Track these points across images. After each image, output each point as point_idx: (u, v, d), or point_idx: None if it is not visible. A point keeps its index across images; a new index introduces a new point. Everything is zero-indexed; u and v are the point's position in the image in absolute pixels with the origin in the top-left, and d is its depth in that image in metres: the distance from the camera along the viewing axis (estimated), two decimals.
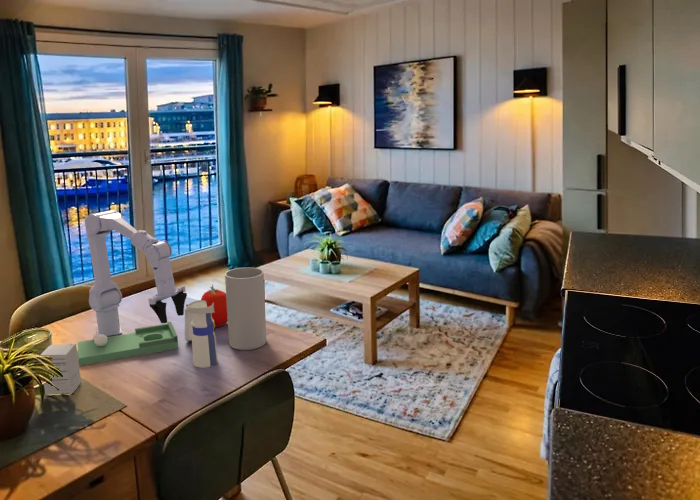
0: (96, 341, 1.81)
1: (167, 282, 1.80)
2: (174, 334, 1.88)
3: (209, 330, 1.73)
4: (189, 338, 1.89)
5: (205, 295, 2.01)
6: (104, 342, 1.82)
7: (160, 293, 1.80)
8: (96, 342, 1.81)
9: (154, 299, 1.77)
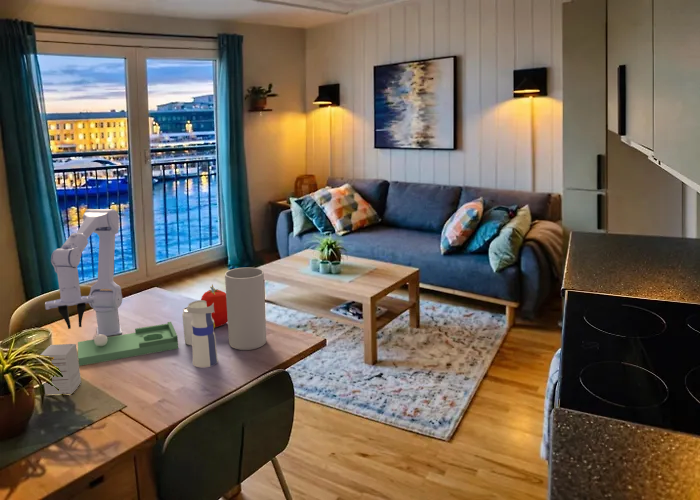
0: (96, 341, 1.81)
1: (64, 291, 1.73)
2: (174, 334, 1.88)
3: (209, 330, 1.73)
4: (189, 343, 1.89)
5: (205, 295, 2.01)
6: (104, 342, 1.82)
7: (61, 299, 1.75)
8: (96, 342, 1.81)
9: (47, 305, 1.73)
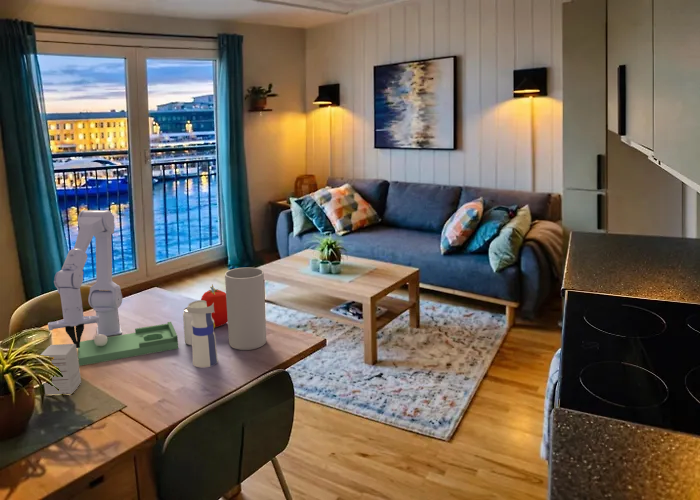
0: (96, 341, 1.81)
1: (67, 312, 1.74)
2: (174, 334, 1.88)
3: (209, 330, 1.73)
4: (189, 343, 1.89)
5: (205, 295, 2.01)
6: (104, 342, 1.82)
7: (63, 320, 1.77)
8: (96, 342, 1.81)
9: (50, 325, 1.75)
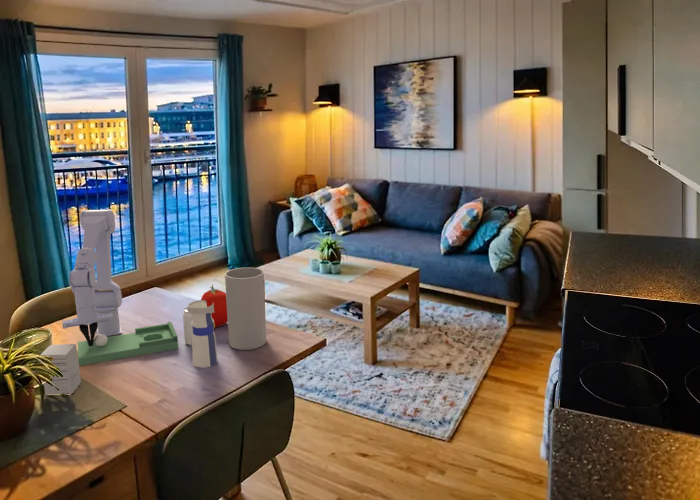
0: (96, 341, 1.81)
1: (81, 311, 1.76)
2: (174, 334, 1.88)
3: (209, 330, 1.73)
4: (189, 343, 1.89)
5: (205, 295, 2.01)
6: (104, 342, 1.82)
7: (77, 318, 1.78)
8: (96, 342, 1.81)
9: (64, 324, 1.76)
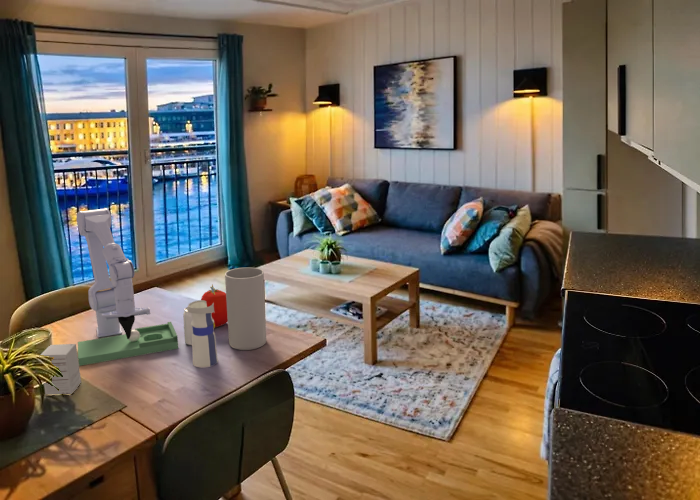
0: (132, 340, 1.85)
1: (121, 303, 1.80)
2: (174, 334, 1.88)
3: (209, 330, 1.73)
4: (189, 343, 1.89)
5: (205, 295, 2.01)
6: (137, 334, 1.86)
7: (116, 311, 1.83)
8: (133, 340, 1.86)
9: (104, 316, 1.80)
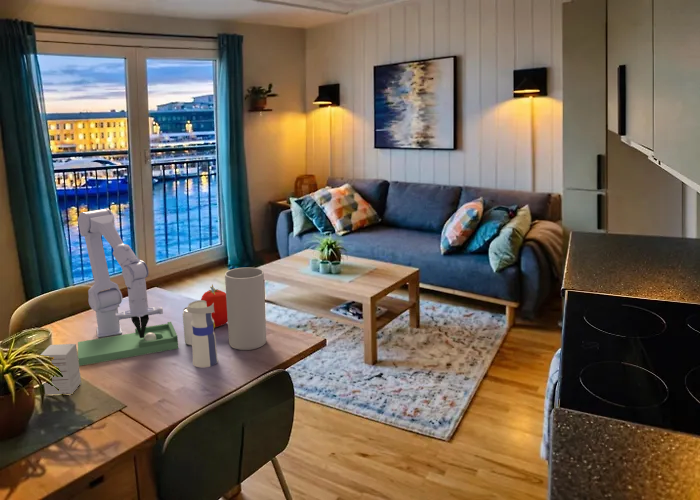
0: (147, 336, 1.89)
1: (134, 303, 1.83)
2: (174, 334, 1.88)
3: (209, 330, 1.73)
4: (189, 343, 1.89)
5: (205, 295, 2.01)
6: None
7: (130, 311, 1.85)
8: (146, 337, 1.89)
9: (118, 316, 1.83)
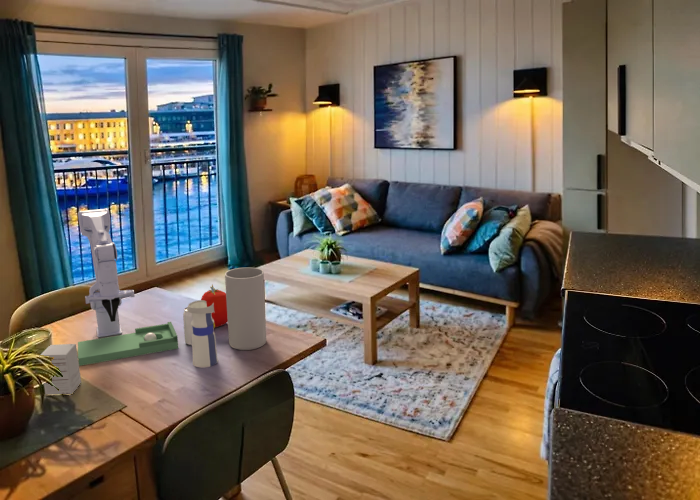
0: (147, 337, 1.89)
1: (104, 286, 1.78)
2: (174, 334, 1.88)
3: (209, 330, 1.73)
4: (189, 343, 1.89)
5: (205, 295, 2.01)
6: None
7: (100, 294, 1.80)
8: (146, 337, 1.89)
9: (87, 299, 1.78)
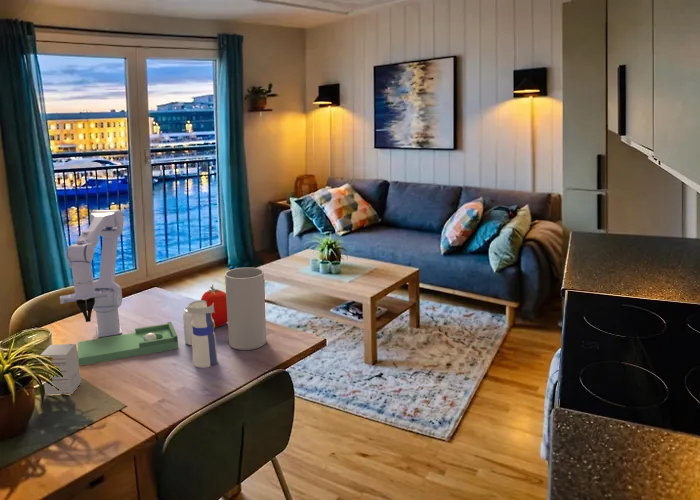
0: (147, 337, 1.89)
1: (79, 286, 1.78)
2: (174, 334, 1.88)
3: (209, 330, 1.73)
4: (190, 343, 1.89)
5: (205, 295, 2.01)
6: None
7: (75, 294, 1.80)
8: (146, 338, 1.89)
9: (62, 299, 1.78)
